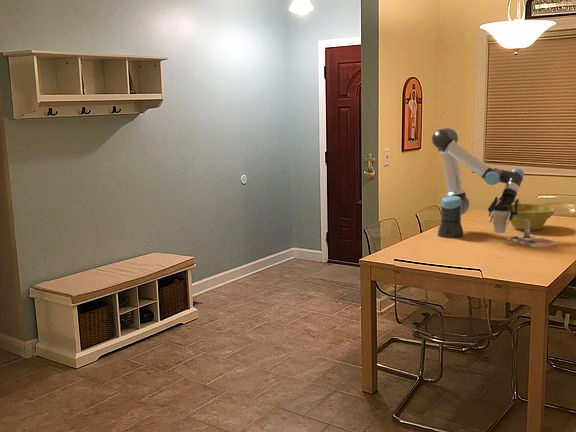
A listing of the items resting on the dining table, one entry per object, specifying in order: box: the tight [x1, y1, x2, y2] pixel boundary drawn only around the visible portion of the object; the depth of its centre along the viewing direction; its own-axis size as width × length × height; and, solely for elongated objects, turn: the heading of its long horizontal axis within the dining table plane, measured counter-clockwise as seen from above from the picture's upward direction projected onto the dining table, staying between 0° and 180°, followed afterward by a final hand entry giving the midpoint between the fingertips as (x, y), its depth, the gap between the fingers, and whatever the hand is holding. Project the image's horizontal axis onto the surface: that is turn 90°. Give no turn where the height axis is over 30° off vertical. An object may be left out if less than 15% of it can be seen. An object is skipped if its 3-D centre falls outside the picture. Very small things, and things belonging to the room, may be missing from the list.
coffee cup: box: [492, 204, 510, 234], centre depth 358 cm, size 9×9×15 cm
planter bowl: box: [505, 203, 557, 232], centre depth 394 cm, size 32×32×13 cm
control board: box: [507, 220, 558, 248], centre depth 356 cm, size 22×16×12 cm
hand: (498, 222), depth 356 cm, fingers closed on coffee cup, 9 cm apart
